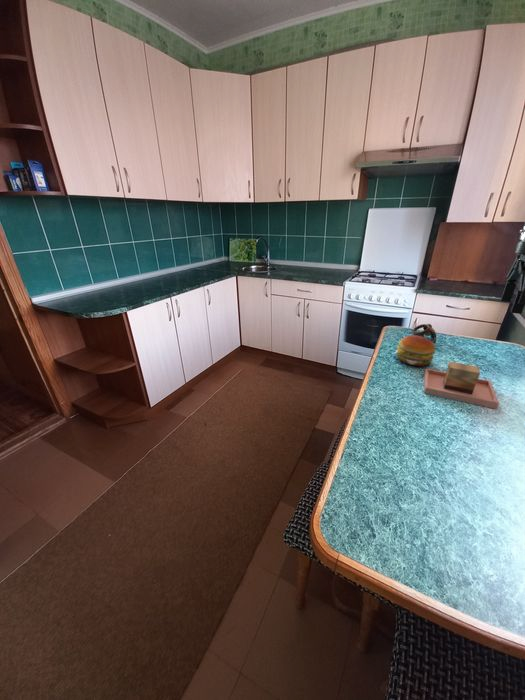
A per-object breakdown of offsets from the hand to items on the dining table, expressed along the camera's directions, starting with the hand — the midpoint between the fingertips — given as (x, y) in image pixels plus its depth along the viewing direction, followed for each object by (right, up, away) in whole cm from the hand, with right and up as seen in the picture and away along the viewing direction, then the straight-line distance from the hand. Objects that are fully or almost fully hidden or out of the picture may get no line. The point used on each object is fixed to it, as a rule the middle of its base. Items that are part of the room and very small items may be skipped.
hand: (510, 306), depth 99 cm
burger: (-25, -19, +16) cm, 36 cm away
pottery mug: (-11, -10, +34) cm, 37 cm away
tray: (-20, -28, -2) cm, 34 cm away
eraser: (-20, -27, -2) cm, 34 cm away
